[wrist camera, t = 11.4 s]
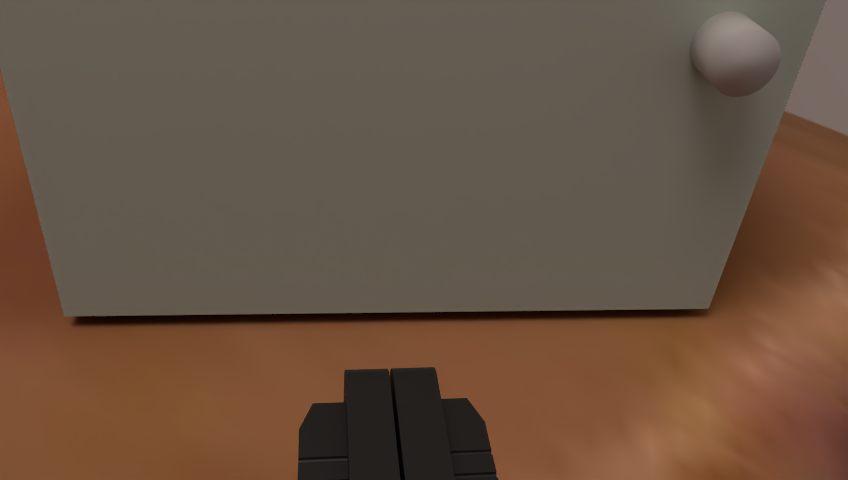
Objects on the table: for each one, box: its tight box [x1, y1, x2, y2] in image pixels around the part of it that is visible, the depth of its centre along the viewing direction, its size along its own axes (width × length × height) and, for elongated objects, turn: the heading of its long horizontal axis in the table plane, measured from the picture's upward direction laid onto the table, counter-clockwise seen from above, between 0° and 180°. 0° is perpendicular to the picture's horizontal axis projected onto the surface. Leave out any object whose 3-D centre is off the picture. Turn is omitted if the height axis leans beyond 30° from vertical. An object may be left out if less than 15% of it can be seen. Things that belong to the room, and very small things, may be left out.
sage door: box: [0, 0, 826, 316], centre depth 22 cm, size 3×24×19 cm, turn 96°
